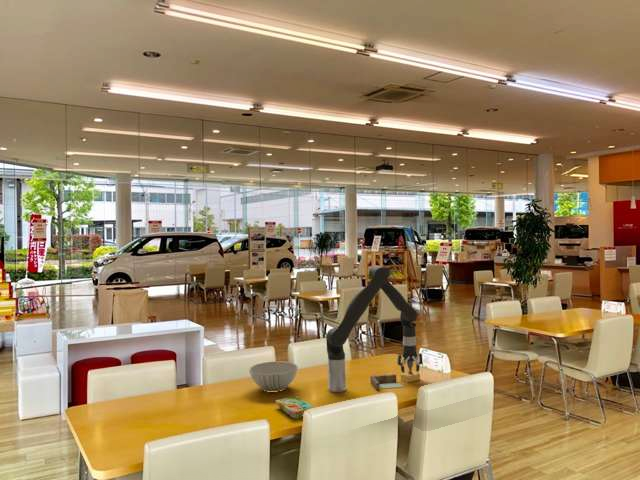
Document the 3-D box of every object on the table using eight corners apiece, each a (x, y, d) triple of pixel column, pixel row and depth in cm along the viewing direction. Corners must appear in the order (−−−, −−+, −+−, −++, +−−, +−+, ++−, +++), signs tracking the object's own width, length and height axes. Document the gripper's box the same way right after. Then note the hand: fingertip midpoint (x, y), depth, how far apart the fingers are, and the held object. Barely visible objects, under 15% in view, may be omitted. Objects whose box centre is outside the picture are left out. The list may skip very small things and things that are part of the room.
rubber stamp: (413, 377, 294) (413, 357, 294) (420, 379, 289) (420, 359, 289) (400, 380, 290) (399, 359, 289) (406, 382, 285) (406, 361, 284)
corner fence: (376, 390, 272) (376, 383, 272) (370, 383, 286) (370, 375, 286) (402, 388, 274) (402, 381, 274) (395, 381, 288) (395, 374, 288)
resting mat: (382, 388, 275) (382, 388, 275) (378, 384, 283) (378, 383, 283) (403, 387, 277) (403, 386, 277) (399, 382, 284) (399, 382, 284)
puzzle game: (292, 410, 232) (275, 398, 250) (292, 420, 233) (275, 408, 250) (314, 406, 238) (296, 394, 256) (315, 416, 238) (297, 403, 256)
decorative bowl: (267, 400, 261) (266, 377, 260) (240, 389, 281) (240, 367, 281) (308, 389, 278) (307, 367, 277) (280, 379, 298) (279, 358, 298)
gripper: (399, 346, 284) (400, 374, 285) (423, 344, 286) (424, 372, 287) (395, 343, 292) (396, 371, 292) (419, 341, 294) (420, 369, 294)
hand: (410, 371), depth 289 cm, fingers open, 8 cm apart
